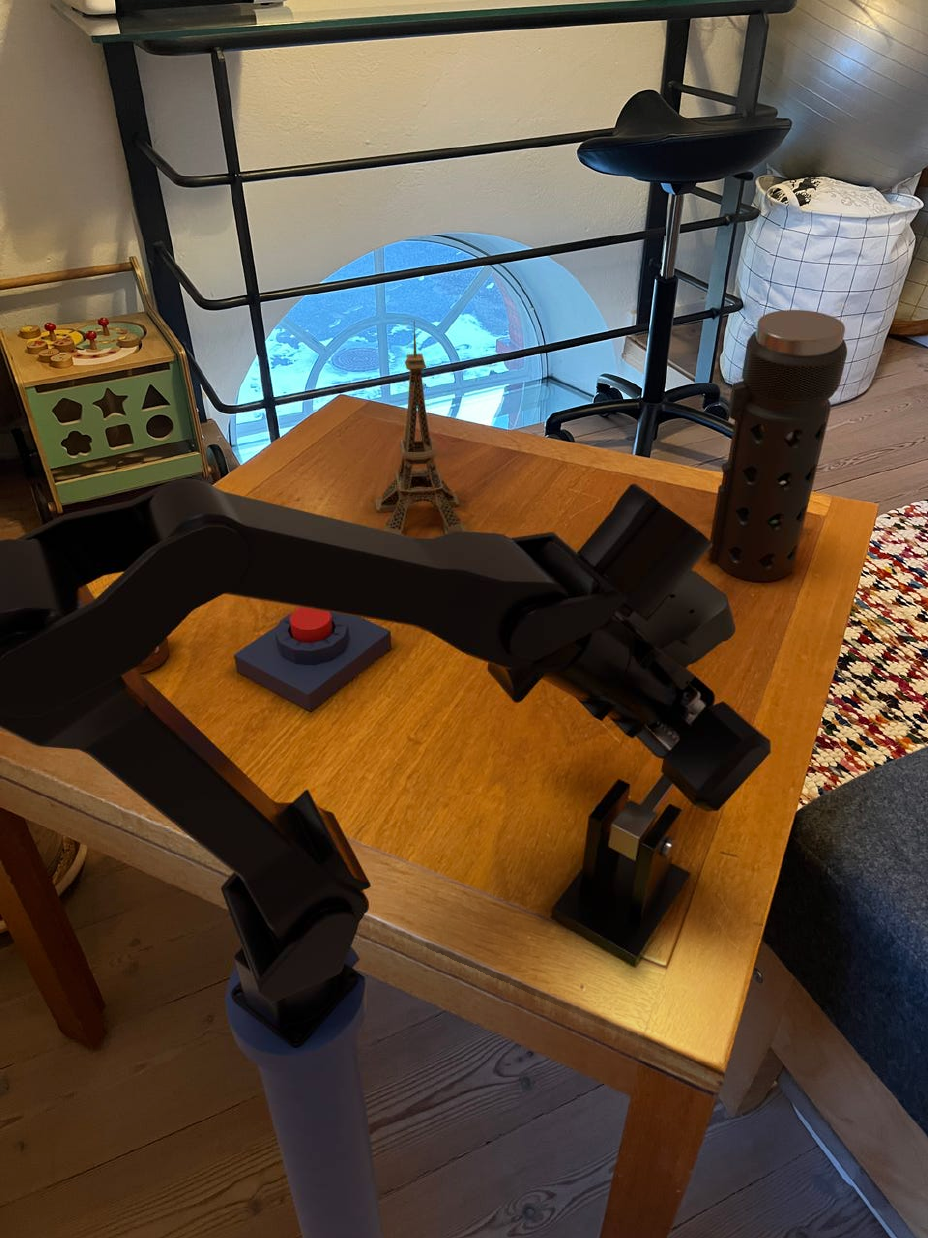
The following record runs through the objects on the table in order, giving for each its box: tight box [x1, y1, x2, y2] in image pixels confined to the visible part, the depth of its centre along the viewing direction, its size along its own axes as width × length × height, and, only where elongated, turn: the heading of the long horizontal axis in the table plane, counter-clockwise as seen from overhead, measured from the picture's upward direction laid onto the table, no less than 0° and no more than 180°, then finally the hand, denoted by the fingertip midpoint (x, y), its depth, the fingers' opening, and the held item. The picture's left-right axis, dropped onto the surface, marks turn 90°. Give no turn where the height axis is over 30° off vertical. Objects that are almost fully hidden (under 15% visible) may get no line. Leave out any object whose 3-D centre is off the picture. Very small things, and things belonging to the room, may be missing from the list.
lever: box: [608, 773, 677, 861], centre depth 68 cm, size 14×4×4 cm, turn 144°
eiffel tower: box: [374, 322, 468, 535], centre depth 107 cm, size 11×11×25 cm
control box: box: [233, 611, 392, 712], centre depth 91 cm, size 12×10×4 cm
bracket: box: [550, 778, 692, 968], centre depth 66 cm, size 9×7×10 cm
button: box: [290, 607, 332, 643], centre depth 89 cm, size 4×4×2 cm
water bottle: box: [707, 309, 848, 582], centre depth 98 cm, size 10×28×10 cm
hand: (699, 725), depth 70 cm, fingers closed
